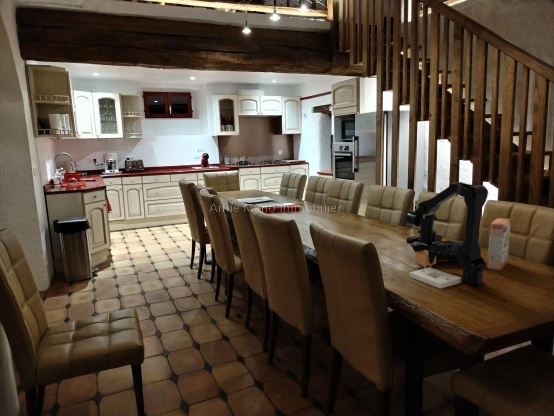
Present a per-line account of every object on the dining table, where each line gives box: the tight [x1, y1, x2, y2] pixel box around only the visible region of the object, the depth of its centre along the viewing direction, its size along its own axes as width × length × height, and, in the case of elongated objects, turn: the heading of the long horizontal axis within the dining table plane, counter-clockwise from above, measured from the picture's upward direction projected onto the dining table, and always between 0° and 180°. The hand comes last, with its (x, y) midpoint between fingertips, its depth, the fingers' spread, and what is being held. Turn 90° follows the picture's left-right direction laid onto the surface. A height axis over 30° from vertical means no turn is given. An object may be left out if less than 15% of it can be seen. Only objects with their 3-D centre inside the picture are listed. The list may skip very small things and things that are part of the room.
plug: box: [414, 250, 437, 269], centre depth 177 cm, size 6×6×7 cm
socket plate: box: [409, 266, 462, 289], centre depth 162 cm, size 16×12×2 cm
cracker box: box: [486, 217, 512, 271], centre depth 174 cm, size 14×6×21 cm, turn 139°
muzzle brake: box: [413, 240, 481, 263], centre depth 184 cm, size 10×28×10 cm, turn 79°
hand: (425, 261), depth 177 cm, fingers closed on plug, 6 cm apart
